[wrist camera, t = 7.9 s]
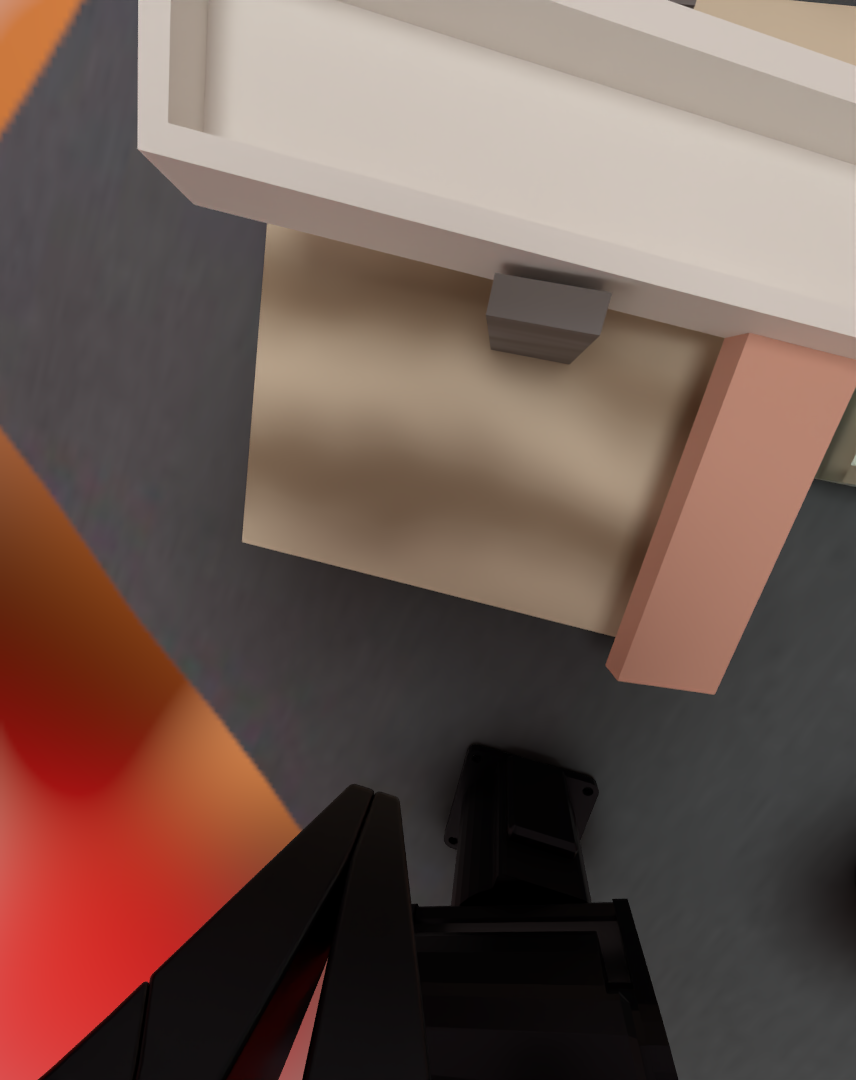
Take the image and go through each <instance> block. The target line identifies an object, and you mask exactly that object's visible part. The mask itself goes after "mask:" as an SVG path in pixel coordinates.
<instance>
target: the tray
mask: <svg viewBox="0 0 856 1080" xmlns="http://www.w3.org/2000/svg"><path fill="white" fill-rule="evenodd" d="M814 479H819V480H824V481H829V482H833V483H838V484H843V485H848V486H853V487H856V388H855V390H854V392H853V394H852V396H851V399H850V401H849V403H848V405H847V407H846V409H845V412H844V414H843V416H842V418H841V420H840V423H839V425H838V427H837V429H836V431H835V433H834V436H833V438H832V440H831V442H830V444H829V447H828V449H827V451H826V453H825V455H824V457H823V460H822V462H821V464H820V466H819V468H818V470H817V473H816V475H815V477H814Z"/></svg>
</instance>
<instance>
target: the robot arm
mask: <svg viewBox="0 0 856 1080" xmlns="http://www.w3.org/2000/svg"><path fill="white" fill-rule="evenodd" d="M475 754H477V755H480V757H475V756H473V755H475ZM585 787H590V789H584V788H585ZM598 793H599V791H598V787H597V783H596V781H595V780H594V779H593V778H591V777H588V776H584V775H581V774H577V773H574V772H571V771H567V770H564V769H560V768H557V767H553V766H550V765H547V764H543V763H540V762H536V761H533V760H529V759H526V758H522V757H519V756H516V755H512V754H509V753H505V752H502V751H498V750H495V749H492V748H488V747H485V746H481V745H472V746H470V747H469V748H468V750H467V754H466V757H465V761H464V765H463V768H462V772H461V775H460V779H459V783H458V786H457V790H456V794H455V797H454V801H453V804H452V808H451V812H450V815H449V819H448V822H447V826H446V830H445V835H444V842H445V844H446V845H447V846H449V847H451V848H454V849H457V854H456V864H455V873H454V883H453V892H452V901H451V906H425V907H419V906H418V904H411V896H410V888H409V879H408V870H407V861H406V852H405V843H404V835H403V826H402V817H401V808H400V801H399V799H398V798H397V797H396V796H393V795H389V794H386V793H383V792H376V793H375V795H374V791H373V790H372V789H370V788H367V787H363V786H360V785H357V784H352V785H350V786H349V787H347V788H346V789H345V790H344V791H343V792H342V793H341V794H340V795H339V796H338V797H337V798H336V799H335V800H334V801H333V802H332V803H331V804H330V805H329V806H328V807H326V808H325V809H324V810H323V811H322V812H321V813H320V814H319V815H318V816H317V817H316V818H315V819H314V820H313V821H312V822H311V823H310V824H309V825H308V826H307V827H306V828H305V829H303V830H302V831H301V832H300V833H299V834H298V835H297V836H296V837H295V838H294V839H293V840H292V841H291V842H290V843H289V844H288V845H287V846H286V847H285V848H284V849H283V850H282V851H280V852H279V854H277V855H276V856H275V857H274V858H273V859H272V860H271V861H270V862H269V863H268V864H267V865H266V866H265V867H264V868H263V869H262V870H261V871H260V872H259V873H257V875H255V877H254V878H252V879H251V880H250V881H249V882H248V883H247V884H246V885H245V886H244V887H243V888H242V889H241V890H240V891H239V892H238V893H237V894H235V895H234V896H233V897H232V898H231V899H230V900H229V901H228V902H227V903H226V904H225V905H224V906H223V907H222V908H221V909H220V910H219V911H218V912H217V913H216V914H215V915H214V916H213V917H211V919H209V920H208V921H207V922H206V923H205V924H204V925H203V926H202V927H201V928H200V929H199V930H198V931H197V932H196V933H195V934H194V935H193V936H192V937H191V938H190V939H188V941H186V943H184V944H183V945H182V946H181V947H180V948H179V949H178V950H177V951H176V952H175V953H174V954H173V955H172V956H171V957H170V958H169V959H168V960H167V961H165V962H164V963H163V964H162V965H161V966H160V967H159V968H158V969H157V970H156V971H155V972H154V973H153V974H152V975H151V977H150V982H149V983H148V982H143V983H142V984H141V985H140V986H139V987H138V988H137V989H136V990H135V991H134V992H133V993H132V994H130V995H129V996H128V997H127V998H126V999H125V1000H124V1001H123V1002H122V1003H121V1004H120V1005H119V1006H118V1007H117V1008H116V1009H115V1010H114V1011H113V1012H112V1013H111V1014H110V1015H109V1016H107V1017H106V1019H104V1020H103V1021H102V1022H101V1023H100V1024H99V1025H98V1026H97V1027H95V1029H93V1030H92V1031H91V1032H90V1033H89V1034H88V1035H87V1036H86V1037H85V1038H84V1039H82V1040H81V1041H80V1042H79V1043H78V1044H77V1045H76V1046H75V1047H74V1048H73V1049H72V1050H71V1051H69V1052H68V1053H67V1054H66V1055H65V1056H64V1057H63V1058H62V1059H61V1060H60V1061H58V1062H57V1064H56V1065H54V1066H53V1067H52V1068H51V1069H50V1070H48V1071H47V1072H46V1073H45V1074H44V1075H43V1076H42V1077H40V1078H39V1079H38V1080H278V1079H279V1077H280V1074H281V1072H282V1069H283V1067H284V1065H285V1062H286V1060H287V1057H288V1055H289V1052H290V1050H291V1048H292V1045H293V1042H294V1040H295V1038H296V1035H297V1033H298V1030H299V1028H300V1025H301V1023H302V1020H303V1018H304V1016H305V1013H306V1011H307V1008H308V1006H309V1003H310V1001H311V998H312V996H313V994H314V991H315V989H316V986H317V984H318V981H319V979H320V977H321V974H322V971H323V969H324V966H325V964H326V961H327V959H328V961H327V966H326V970H325V975H324V980H323V985H322V989H321V994H320V999H319V1003H318V1008H317V1013H316V1018H315V1022H314V1027H313V1032H312V1037H311V1041H310V1046H309V1051H308V1055H307V1060H306V1065H305V1069H304V1074H303V1079H302V1080H678V1077H677V1073H676V1069H675V1065H674V1062H673V1058H672V1054H671V1050H670V1046H669V1043H668V1039H667V1035H666V1032H665V1028H664V1024H663V1021H662V1017H661V1014H660V1010H659V1006H658V1003H657V1000H656V996H655V993H654V989H653V986H652V982H651V979H650V975H649V972H648V968H647V965H646V962H645V958H644V955H643V951H642V948H641V944H640V941H639V937H638V934H637V930H636V927H635V924H634V920H633V917H632V913H631V910H630V906H629V903H628V900H627V899H612V900H613V902H603V903H592V902H591V897H590V892H589V887H588V881H587V876H586V871H585V865H584V860H583V855H582V850H581V844H580V839H581V837H582V834H583V832H584V829H585V827H586V824H587V822H588V819H589V817H590V814H591V812H592V809H593V807H594V804H595V802H596V799H597V797H598ZM453 837H455V838H453Z"/></svg>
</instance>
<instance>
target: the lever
mask: <svg viewBox="0 0 856 1080" xmlns="http://www.w3.org/2000/svg"><path fill="white" fill-rule="evenodd" d="M138 150H139V151H140V152H141V153H142V154H143V155H144V156H145V157H146V158H147V159H148V160H149V161H150V162H151V163H152V164H153V165H154V166H155V167H156V168H157V169H158V170H159V171H160V172H161V173H162V174H163V175H164V176H165V177H166V178H167V179H168V180H169V181H171V182H172V183H173V184H174V185H175V186H176V187H177V188H178V189H179V190H180V191H181V192H182V193H183V194H184V195H185V196H186V197H187V198H188V199H189V200H190V201H191V202H192V203H193V204H194V205H197V206H201V207H205V208H209V209H213V210H217V211H221V212H225V213H229V214H233V215H237V216H241V217H245V218H249V219H253V220H257V221H261V222H265V223H269V224H273V225H277V226H281V227H285V228H289V229H293V230H297V231H301V232H305V233H309V234H313V235H317V236H321V237H325V238H328V239H332V240H336V241H340V242H344V243H348V244H352V245H356V246H360V247H364V248H368V249H372V250H376V251H380V252H384V253H388V254H392V255H396V256H400V257H404V258H408V259H412V260H416V261H420V262H424V263H428V264H432V265H436V266H440V267H444V268H448V269H452V270H456V271H460V272H464V273H468V274H472V275H476V276H480V277H484V278H488V279H492V280H494V275H495V273H499V274H505V275H511V276H517V277H522V278H528V279H534V280H540V281H546V282H552V283H558V284H564V285H569V286H575V287H581V288H587V289H593V290H599V291H605V292H611V293H612V296H611V299H610V302H609V306H608V309H611V310H615V311H619V312H623V313H627V314H631V315H635V316H639V317H643V318H647V319H651V320H655V321H659V322H663V323H667V324H671V325H675V326H679V327H683V328H687V329H691V330H695V331H699V332H703V333H707V334H710V335H714V336H718V337H722V338H724V341H723V344H722V347H721V349H720V352H719V355H718V358H717V360H716V363H715V366H714V369H713V371H712V374H711V377H710V380H709V382H708V385H707V388H706V391H705V393H704V396H703V399H702V402H701V404H700V407H699V410H698V412H697V415H696V418H695V421H694V423H693V426H692V429H691V432H690V434H689V437H688V440H687V443H686V445H685V448H684V451H683V454H682V456H681V459H680V462H679V465H678V467H677V470H676V473H675V476H674V478H673V481H672V484H671V487H670V489H669V492H668V495H667V498H666V500H665V503H664V506H663V508H662V511H661V514H660V517H659V519H658V522H657V525H656V528H655V530H654V533H653V536H652V539H651V541H650V544H649V547H648V550H647V552H646V555H645V558H644V561H643V563H642V566H641V569H640V572H639V574H638V577H637V580H636V583H635V585H634V588H633V591H632V593H631V596H630V599H629V602H628V604H627V607H626V610H625V613H624V615H623V618H622V621H621V624H620V626H619V629H618V632H617V635H616V637H615V640H614V643H613V646H612V648H611V651H610V654H609V657H608V659H607V662H606V665H605V666H606V667H607V668H608V669H609V671H610V672H611V673H612V674H613V676H614V677H615V678H616V679H617V681H622V682H629V683H636V684H643V685H650V686H657V687H665V688H672V689H679V690H686V691H693V692H700V693H707V694H714V695H715V693H716V691H717V689H718V686H719V684H720V682H721V680H722V678H723V675H724V673H725V671H726V669H727V667H728V665H729V662H730V660H731V658H732V656H733V654H734V651H735V649H736V647H737V645H738V643H739V641H740V638H741V636H742V634H743V632H744V630H745V627H746V625H747V623H748V621H749V619H750V617H751V614H752V612H753V610H754V608H755V606H756V603H757V601H758V599H759V597H760V595H761V593H762V590H763V588H764V586H765V584H766V582H767V580H768V577H769V575H770V573H771V571H772V569H773V566H774V564H775V562H776V560H777V558H778V556H779V553H780V551H781V549H782V547H783V545H784V542H785V540H786V538H787V536H788V534H789V532H790V529H791V527H792V525H793V523H794V521H795V518H796V516H797V514H798V512H799V510H800V508H801V505H802V503H803V501H804V499H805V497H806V494H807V492H808V490H809V488H810V486H811V484H812V481H813V479H814V477H815V475H816V473H817V470H818V468H819V466H820V464H821V462H822V460H823V457H824V455H825V453H826V451H827V449H828V447H829V444H830V442H831V440H832V438H833V436H834V433H835V431H836V429H837V427H838V425H839V423H840V420H841V418H842V416H843V414H844V412H845V409H846V407H847V405H848V403H849V401H850V399H851V396H852V394H853V392H854V390H855V388H856V66H855V65H852V64H849V63H846V62H843V61H840V60H838V59H835V58H832V57H829V56H826V55H823V54H820V53H818V52H815V51H812V50H809V49H806V48H803V47H800V46H797V45H795V44H792V43H789V42H786V41H783V40H780V39H777V38H775V37H772V36H769V35H766V34H763V33H760V32H757V31H754V30H752V29H749V28H746V27H743V26H740V25H737V24H734V23H732V22H729V21H726V20H723V19H720V18H717V17H714V16H711V15H709V14H706V13H703V12H700V11H697V10H694V9H691V8H689V7H686V6H683V5H680V4H677V3H674V2H671V1H669V0H138Z"/></svg>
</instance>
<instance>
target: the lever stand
mask: <svg viewBox="0 0 856 1080" xmlns="http://www.w3.org/2000/svg"><path fill="white" fill-rule="evenodd" d="M669 1H671V2H674V3H677V4H680V5H683V6H686V7H689V8H691V9H694V10H697V11H700V12H703V13H706V14H709V15H711V16H714V17H717V18H720V19H723V20H726V21H729V22H732V23H734V24H737V25H740V26H743V27H746V28H749V29H752V30H754V31H757V32H760V33H763V34H766V35H769V36H772V37H775V38H777V39H780V40H783V41H786V42H789V43H792V44H795V45H797V46H800V47H803V48H806V49H809V50H812V51H815V52H818V53H820V54H823V55H826V56H829V57H832V58H835V59H838V60H840V61H843V62H846V63H849V64H852V65H855V66H856V7H855V6H845V5H834V4H823V3H813V2H802V1H791V0H669ZM611 296H612V293H611V292H605V291H599V290H593V289H587V288H581V287H575V286H569V285H564V284H558V283H552V282H546V281H540V280H534V279H528V278H522V277H517V276H511V275H505V274H499V273H495V275H494V280H492V279H488V278H484V277H480V276H476V275H472V274H468V273H464V272H460V271H456V270H452V269H448V268H444V267H440V266H436V265H432V264H428V263H424V262H420V261H416V260H412V259H408V258H404V257H400V256H396V255H392V254H388V253H384V252H380V251H376V250H372V249H368V248H364V247H360V246H356V245H352V244H348V243H344V242H340V241H336V240H332V239H328V238H325V237H321V236H317V235H313V234H309V233H305V232H301V231H297V230H293V229H289V228H285V227H281V226H277V225H273V224H269V223H267V233H266V246H265V258H264V271H263V283H262V296H261V309H260V321H259V334H258V346H257V359H256V372H255V384H254V397H253V409H252V422H251V435H250V447H249V460H248V472H247V485H246V498H245V510H244V523H243V535H242V542H244V543H248V544H252V545H256V546H260V547H263V548H267V549H271V550H275V551H279V552H283V553H287V554H291V555H295V556H299V557H303V558H307V559H311V560H315V561H319V562H322V563H326V564H330V565H334V566H338V567H342V568H346V569H350V570H354V571H358V572H362V573H366V574H370V575H374V576H377V577H381V578H385V579H389V580H393V581H397V582H401V583H405V584H409V585H413V586H417V587H421V588H425V589H429V590H432V591H436V592H440V593H444V594H448V595H452V596H456V597H460V598H464V599H468V600H472V601H476V602H480V603H484V604H487V605H491V606H495V607H499V608H503V609H507V610H511V611H515V612H519V613H523V614H527V615H531V616H535V617H539V618H542V619H546V620H550V621H554V622H558V623H562V624H566V625H570V626H574V627H578V628H582V629H586V630H590V631H594V632H597V633H601V634H605V635H609V636H613V637H616V635H617V632H618V629H619V626H620V624H621V621H622V618H623V615H624V613H625V610H626V607H627V604H628V602H629V599H630V596H631V593H632V591H633V588H634V585H635V583H636V580H637V577H638V574H639V572H640V569H641V566H642V563H643V561H644V558H645V555H646V552H647V550H648V547H649V544H650V541H651V539H652V536H653V533H654V530H655V528H656V525H657V522H658V519H659V517H660V514H661V511H662V508H663V506H664V503H665V500H666V498H667V495H668V492H669V489H670V487H671V484H672V481H673V478H674V476H675V473H676V470H677V467H678V465H679V462H680V459H681V456H682V454H683V451H684V448H685V445H686V443H687V440H688V437H689V434H690V432H691V429H692V426H693V423H694V421H695V418H696V415H697V412H698V410H699V407H700V404H701V402H702V399H703V396H704V393H705V391H706V388H707V385H708V382H709V380H710V377H711V374H712V371H713V369H714V366H715V363H716V360H717V358H718V355H719V352H720V349H721V347H722V344H723V341H724V338H722V337H718V336H714V335H710V334H707V333H703V332H699V331H695V330H691V329H687V328H683V327H679V326H675V325H671V324H667V323H663V322H659V321H655V320H651V319H647V318H643V317H639V316H635V315H631V314H627V313H623V312H619V311H615V310H611V309H608V306H609V302H610V299H611Z"/></svg>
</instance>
